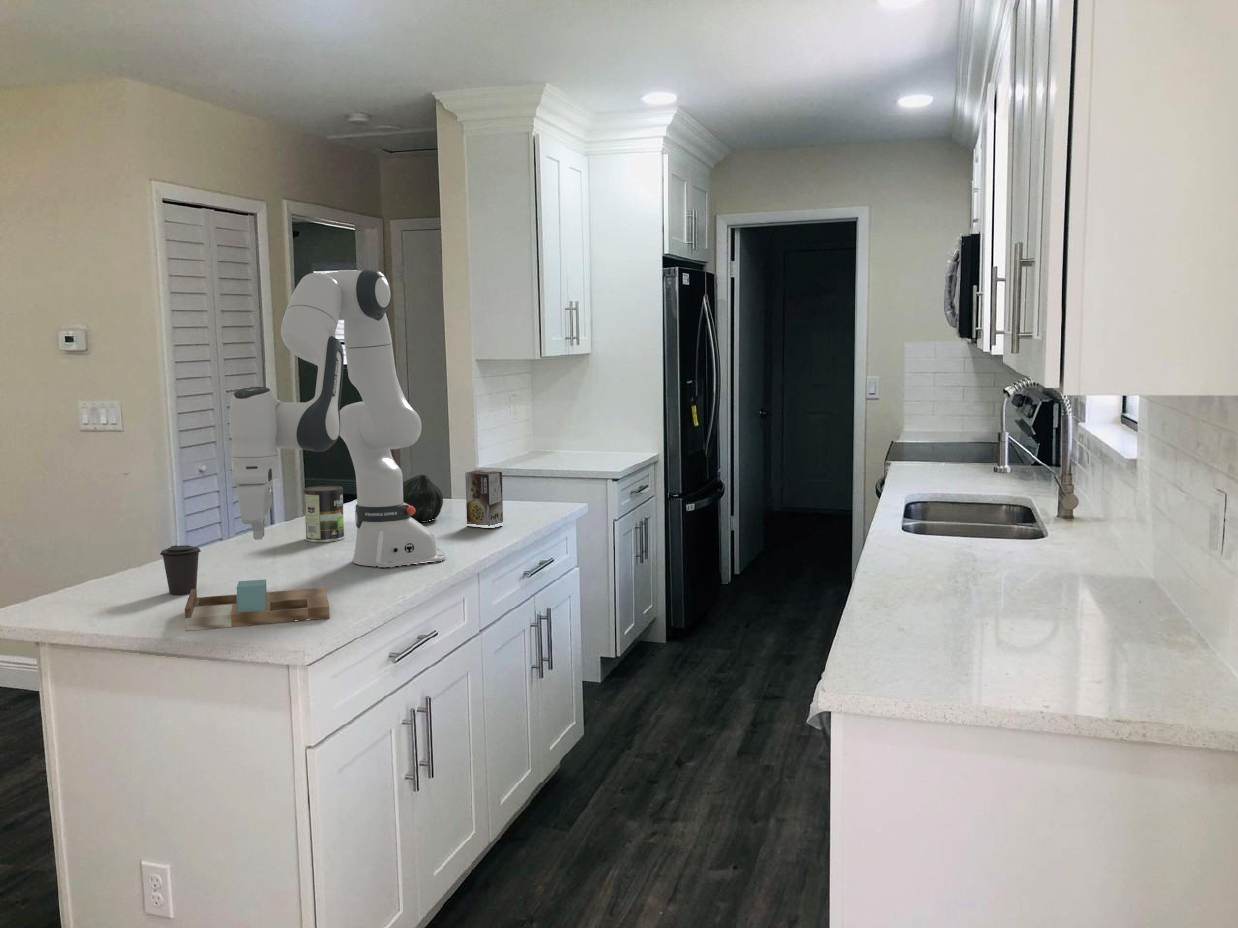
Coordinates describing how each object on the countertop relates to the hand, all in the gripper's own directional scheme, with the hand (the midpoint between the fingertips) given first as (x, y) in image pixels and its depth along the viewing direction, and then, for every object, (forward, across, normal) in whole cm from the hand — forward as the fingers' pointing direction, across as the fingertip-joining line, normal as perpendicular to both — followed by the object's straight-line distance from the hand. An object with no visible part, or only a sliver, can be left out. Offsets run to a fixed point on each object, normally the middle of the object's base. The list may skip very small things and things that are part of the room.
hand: (259, 538), depth 203 cm
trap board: (+15, +3, 0) cm, 15 cm away
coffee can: (+15, -74, +8) cm, 76 cm away
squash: (+15, -96, +34) cm, 103 cm away
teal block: (+12, +7, -1) cm, 14 cm away
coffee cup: (+15, -20, -18) cm, 31 cm away
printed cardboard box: (+15, -82, +53) cm, 99 cm away
